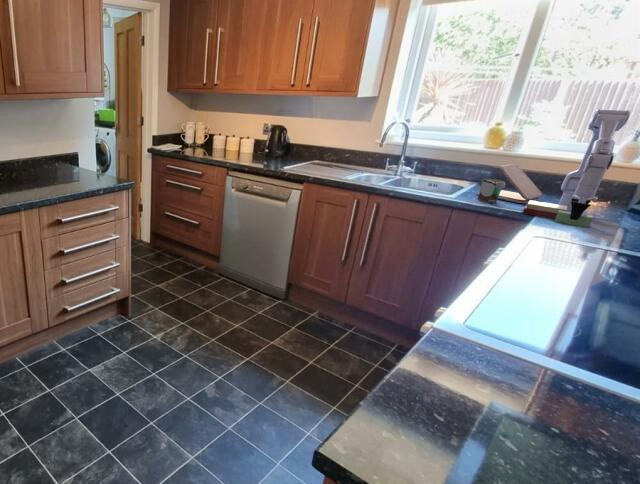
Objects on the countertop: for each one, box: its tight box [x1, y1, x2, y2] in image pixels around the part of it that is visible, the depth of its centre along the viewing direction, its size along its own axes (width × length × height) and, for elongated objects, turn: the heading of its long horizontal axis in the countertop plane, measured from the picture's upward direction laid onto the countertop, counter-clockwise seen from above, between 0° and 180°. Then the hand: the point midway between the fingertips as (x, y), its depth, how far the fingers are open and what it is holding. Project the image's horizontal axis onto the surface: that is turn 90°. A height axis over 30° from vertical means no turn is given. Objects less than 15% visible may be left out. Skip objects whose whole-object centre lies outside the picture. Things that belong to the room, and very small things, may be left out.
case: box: [476, 163, 543, 204], centre depth 211 cm, size 20×21×16 cm
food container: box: [476, 177, 506, 204], centre depth 203 cm, size 12×6×10 cm, turn 168°
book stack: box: [522, 200, 567, 220], centre depth 184 cm, size 11×13×4 cm
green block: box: [554, 210, 594, 228], centre depth 172 cm, size 5×10×4 cm, turn 44°
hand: (573, 217), depth 172 cm, fingers open, 7 cm apart
